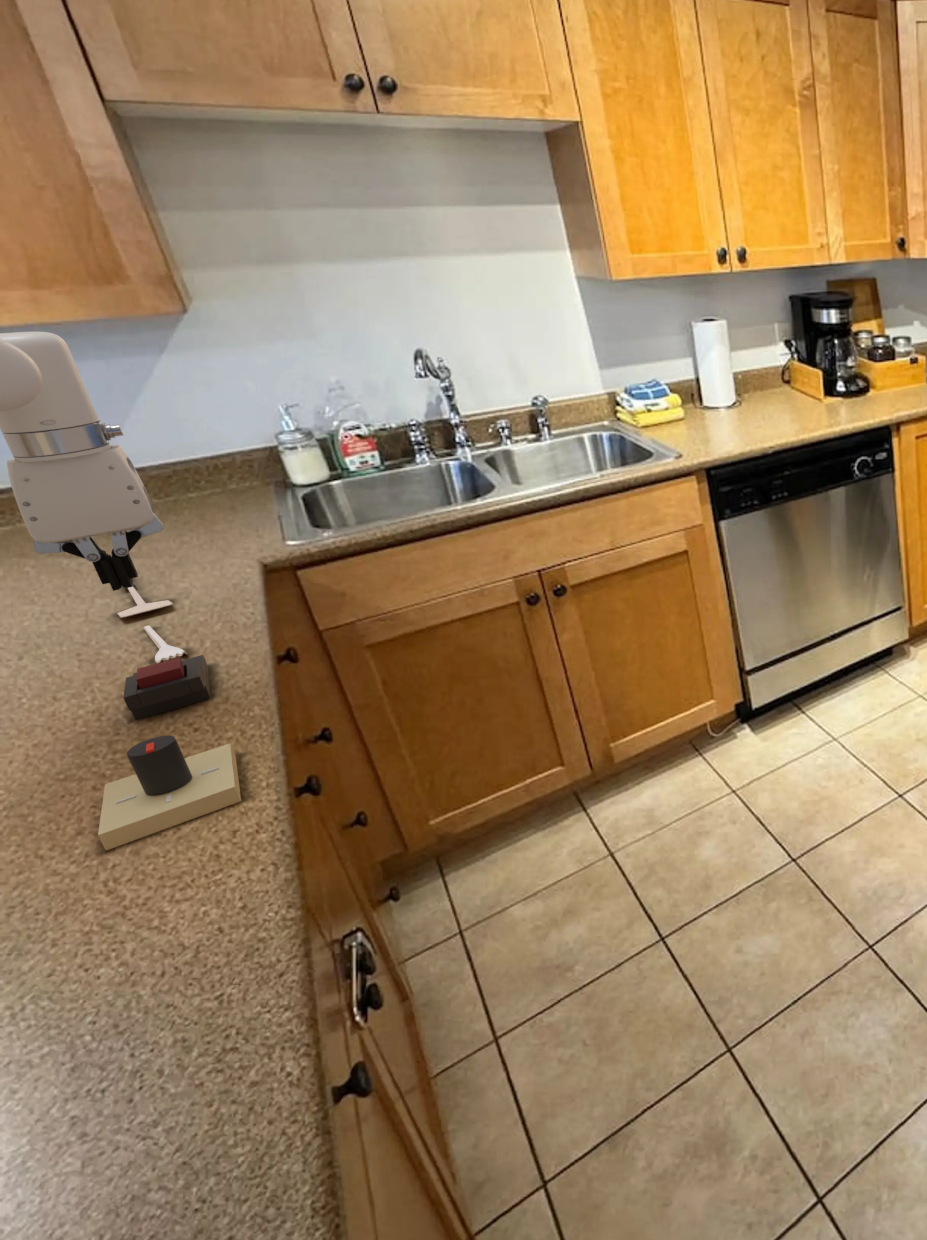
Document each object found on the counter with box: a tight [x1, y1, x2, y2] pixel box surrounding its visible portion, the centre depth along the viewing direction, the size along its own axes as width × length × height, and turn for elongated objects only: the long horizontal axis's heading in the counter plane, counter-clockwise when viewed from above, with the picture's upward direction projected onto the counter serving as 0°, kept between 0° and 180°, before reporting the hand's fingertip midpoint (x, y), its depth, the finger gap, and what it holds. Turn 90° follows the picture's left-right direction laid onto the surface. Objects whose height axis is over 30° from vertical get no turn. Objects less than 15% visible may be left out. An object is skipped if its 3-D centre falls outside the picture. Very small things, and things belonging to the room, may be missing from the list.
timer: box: [97, 743, 242, 851], centre depth 82 cm, size 11×10×2 cm
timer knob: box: [126, 734, 192, 796], centre depth 81 cm, size 4×4×5 cm
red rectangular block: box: [136, 657, 185, 689], centre depth 100 cm, size 4×4×2 cm
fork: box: [143, 625, 188, 664], centre depth 116 cm, size 3×20×2 cm, turn 54°
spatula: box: [116, 582, 174, 619], centre depth 134 cm, size 6×29×2 cm, turn 53°
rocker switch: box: [122, 654, 211, 721], centre depth 103 cm, size 13×7×4 cm, turn 45°
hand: (123, 585), depth 95 cm, fingers closed
